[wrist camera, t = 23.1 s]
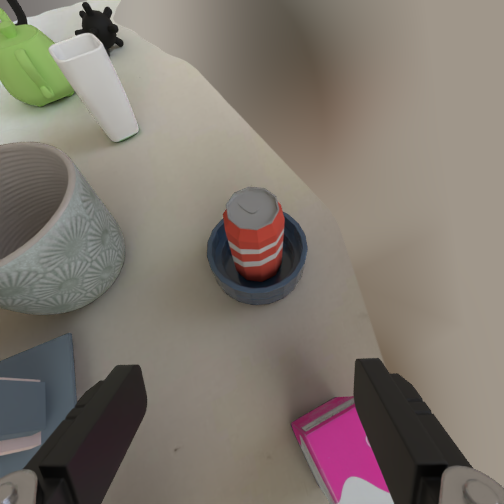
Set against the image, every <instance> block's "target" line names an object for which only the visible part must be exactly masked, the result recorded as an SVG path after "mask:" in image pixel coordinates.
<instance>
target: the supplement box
mask: <svg viewBox="0 0 504 504" xmlns="http://www.w3.org/2000/svg"><path fill="white" fill-rule="evenodd" d="M291 426H292V429H293V431H294V434H295V436H296V438H297V440H298V443H299V445H300V447H301V449H302V452H303V454H304V456H305V458H306V460H307V462H308V465H309V467H310V469H311V471H312V473H313V475H314V477H315V479H316V481H317V483H318V485H319V487H320V488H321V490H322V491H323V493H324V494H325V496H326V497H327V499H328V501H329V502H330V504H394V502H393V500H392V497H391V495H390V492H389V490H388V487H387V485H386V483H385V480H384V478H383V475H382V473H381V470H380V468H379V465H378V463H377V460H376V458H375V456H374V453H373V451H372V448H371V446H370V443H369V441H368V438H367V436H366V433H365V431H364V429H363V426H362V424H361V421H360V419H359V416H358V414H357V411H356V407H355V403H354V396H352V397H335V398H333V399H331V400H330V401H328V402H326V403H324V404H323V405H321V406H319V407H317V408H316V409H314V410H312V411H310V412H309V413H307V414H305V415H303V416H302V417H300V418H298V419H297V420H295V421H293V422H292V423H291Z"/></svg>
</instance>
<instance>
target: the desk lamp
mask: <svg viewBox="0 0 504 504" xmlns="http://www.w3.org/2000/svg"><path fill="white" fill-rule="evenodd" d="M76 403H77V396H76V383H75V370H74V356H73V343H72V334H71V333H67V334H65V335H62V336H60V337H58V338H55V339H53V340H50V341H48V342H45V343H43V344H41V345H38V346H36V347H33V348H31V349H28V350H26V351H24V352H21V353H19V354H16V355H14V356H12V357H9V358H7V359H4V360H2V361H0V478H2V477H3V476H5V475H7V474H9V473H12V472H15V471H18V470H22V469H23V468H24V467H25V466H26V465H27V463H28V462H29V461H30V460H31V458H32V457H33V456H34V455H35V454H36V452H37V451H38V450H39V449H40V447H41V446H42V445H43V444H44V443H45V441H46V440H47V439H48V438H49V436H50V435H51V434H52V433H53V432H54V430H55V429H56V428H57V427H58V425H59V424H60V423H61V422H62V421H63V420H65V418H66V416H67V414H68V413H69V412H70V411H71V410H72V408H74V407H75V405H76Z"/></svg>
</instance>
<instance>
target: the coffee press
mask: <svg viewBox="0 0 504 504" xmlns="http://www.w3.org/2000/svg"><path fill="white" fill-rule="evenodd" d="M7 1H8V3H9V4H10V6H11V7H12V9H13V11H14V12H15V14H16V16H17V19H18V23H17V24H15V26H18V25H24V24H27V19H26V16H25V14H24V12H23V10H22V8H21V6H20V5H19V3H18V2H17V0H7ZM1 22H2V21H1V20H0V23H1Z"/></svg>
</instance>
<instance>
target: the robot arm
mask: <svg viewBox="0 0 504 504" xmlns="http://www.w3.org/2000/svg"><path fill="white" fill-rule="evenodd" d="M354 403H355V407H356V411H357V414H358V416H359V419H360V421H361V424H362V426H363V429H364V431H365V433H366V436H367V438H368V441H369V443H370V446H371V448H372V451H373V453H374V456H375V458H376V460H377V463H378V465H379V468H380V470H381V473H382V475H383V478H384V480H385V483H386V485H387V487H388V490H389V492H390V495H391V497H392V500H393V502H394V504H504V488H503V487H502V486H501V485H500V484H499V483H497V482H496V481H495V480H493V479H492V478H490V477H489V476H487V475H486V474H484V473H482V472H480V471H478V470H476V469H473V467H472V466H471V465H470V464H469V462H468V461H467V459H466V458H465V457H464V455H463V454H462V453H461V451H460V450H459V449H458V447H457V446H456V444H455V443H454V442H453V440H452V439H451V438H450V436H449V435H448V433H447V432H446V431H445V429H444V428H443V427H442V425H441V424H440V422H439V421H438V420H437V418H436V417H435V416H434V414H432V413H431V410H430V409H429V407H428V406H427V405H426V403H425V402H423V401H422V398H421V396H420V395H419V394H418V392H417V391H416V389H415V388H414V387H413V386H412V384H410V383H409V382H407V380H405V379H404V378H403V377H401V376H400V375H399V374H389V372H388V370H387V369H386V367H385V366H384V364H383V363H382V361H381V360H380V359H379V358H368V359H356V361H355V374H354ZM146 408H147V395H146V390H145V385H144V381H143V376H142V371H141V368H140V366H139V365H117V366H116V367H115V368H114V369H113V370H112V371H111V373H110V374H109V375H108V376H107V378H106V379H105V380H104V381H99V382H98V383H97V384H95V385H94V386H93V387H92V388H90V389H89V390H88V391H86V392H85V394H84V395H83V396H82V397H81V398H80V400H79V401H78V402H77V403H76V405H75V407H74V408H72V410H71V411H70V412H69V413H68V414H67V416H66V418H65V420H63V421H62V422H61V423H60V424H59V425H58V427H57V428H56V429H55V430H54V432H53V433H52V434H51V435H50V436H49V438H48V439H47V440H46V441H45V443H44V444H43V445H42V446H41V447H40V449H39V450H38V451H37V452H36V454H35V455H34V456H33V457H32V458H31V460H30V461H29V462H28V463H27V465H26V466H25V467H24V468H23V469H22V470H18V471H15V472H12V473H9V474H7V475H5V476H3V477H2V478H0V504H101V503H102V501H103V499H104V497H105V495H106V493H107V491H108V489H109V487H110V485H111V482H112V480H113V478H114V476H115V474H116V472H117V470H118V468H119V466H120V464H121V462H122V460H123V458H124V456H125V454H126V452H127V450H128V448H129V446H130V444H131V442H132V440H133V438H134V436H135V434H136V432H137V430H138V427H139V425H140V423H141V421H142V419H143V417H144V415H145V412H146Z"/></svg>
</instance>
